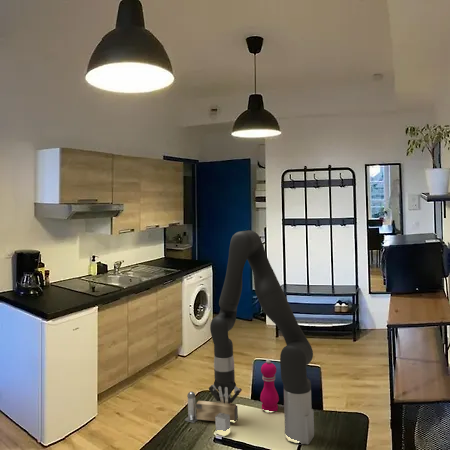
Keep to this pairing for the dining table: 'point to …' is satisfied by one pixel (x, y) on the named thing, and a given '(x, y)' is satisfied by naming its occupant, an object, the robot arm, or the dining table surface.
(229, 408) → the gate
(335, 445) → the dining table surface
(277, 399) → the pepper mill
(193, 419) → the hinge post
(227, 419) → the grey block
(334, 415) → the dining table surface
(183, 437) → the dining table surface
